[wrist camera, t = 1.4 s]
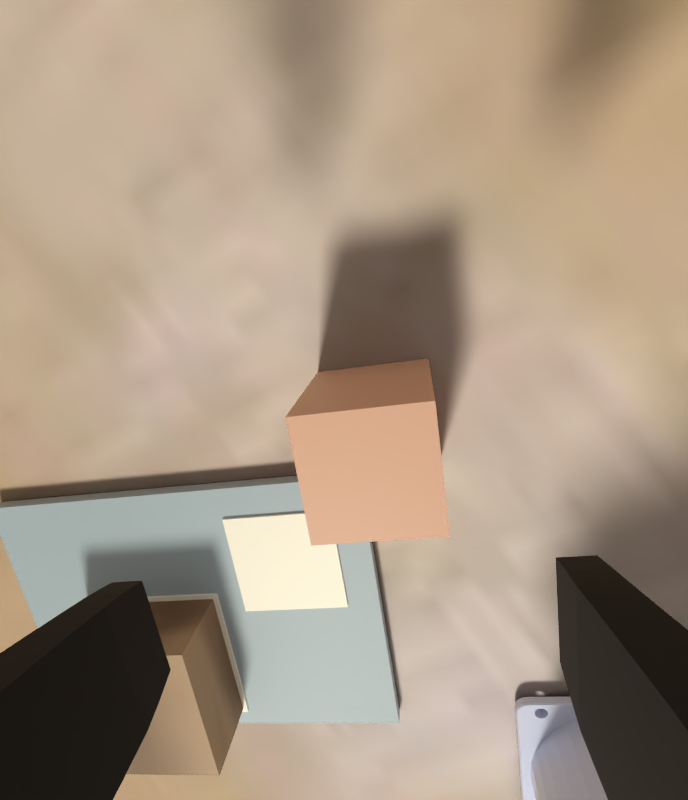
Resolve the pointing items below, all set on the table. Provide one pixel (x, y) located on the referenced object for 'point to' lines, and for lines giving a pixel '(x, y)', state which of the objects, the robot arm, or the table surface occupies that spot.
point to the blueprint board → (225, 586)
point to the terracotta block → (370, 455)
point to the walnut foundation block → (191, 695)
